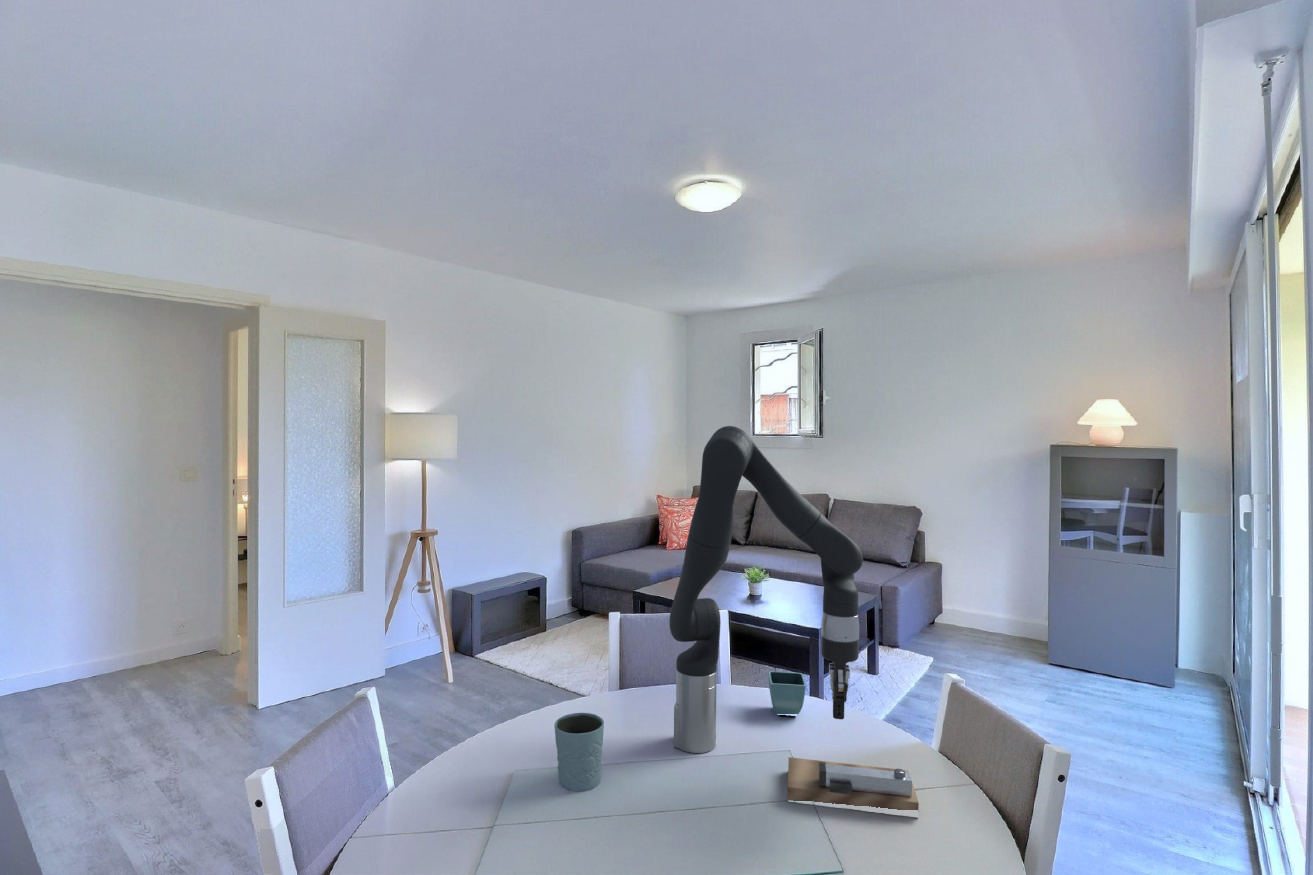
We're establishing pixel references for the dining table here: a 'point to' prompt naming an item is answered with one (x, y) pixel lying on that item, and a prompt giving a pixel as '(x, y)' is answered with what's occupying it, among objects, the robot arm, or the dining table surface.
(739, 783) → the dining table surface
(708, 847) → the dining table surface
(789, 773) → the wooden board with bar
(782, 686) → the flower pot
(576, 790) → the embossed green cup
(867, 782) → the hinged leg
